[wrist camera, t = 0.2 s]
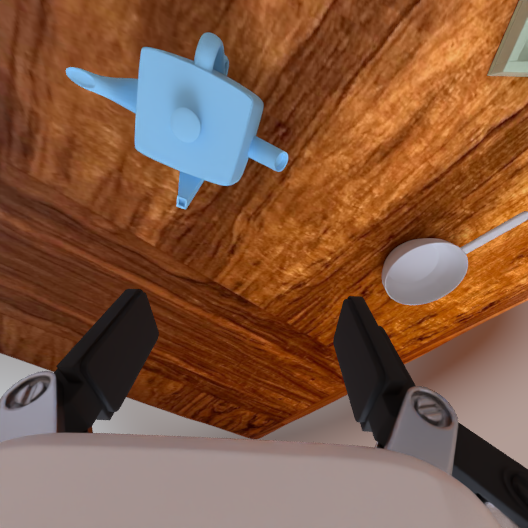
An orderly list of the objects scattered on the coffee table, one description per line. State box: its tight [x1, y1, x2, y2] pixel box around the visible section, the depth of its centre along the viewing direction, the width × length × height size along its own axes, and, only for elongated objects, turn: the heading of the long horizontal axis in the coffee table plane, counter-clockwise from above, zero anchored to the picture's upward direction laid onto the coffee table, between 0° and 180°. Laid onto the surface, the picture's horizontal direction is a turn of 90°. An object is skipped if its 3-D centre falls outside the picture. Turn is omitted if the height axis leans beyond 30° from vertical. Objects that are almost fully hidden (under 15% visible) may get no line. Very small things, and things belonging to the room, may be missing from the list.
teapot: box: [66, 32, 288, 210], centre depth 22 cm, size 18×14×10 cm
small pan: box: [382, 211, 528, 305], centre depth 31 cm, size 11×18×4 cm, turn 138°
